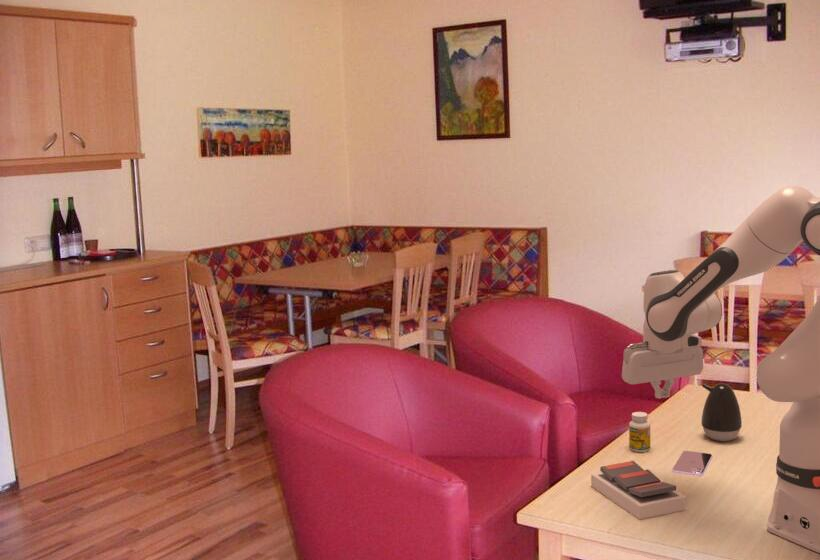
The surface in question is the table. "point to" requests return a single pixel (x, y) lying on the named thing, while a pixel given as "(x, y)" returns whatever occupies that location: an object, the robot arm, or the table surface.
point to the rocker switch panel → (639, 499)
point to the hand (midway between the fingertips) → (662, 397)
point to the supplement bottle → (639, 432)
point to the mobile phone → (692, 463)
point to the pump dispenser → (721, 413)
